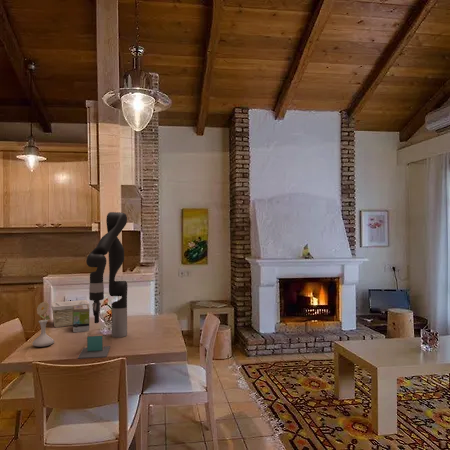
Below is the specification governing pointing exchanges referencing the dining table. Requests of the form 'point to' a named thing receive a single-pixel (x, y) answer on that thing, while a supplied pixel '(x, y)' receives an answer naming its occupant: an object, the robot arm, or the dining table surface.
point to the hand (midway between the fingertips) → (96, 322)
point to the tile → (95, 342)
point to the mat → (94, 353)
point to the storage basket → (65, 312)
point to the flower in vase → (43, 327)
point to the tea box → (81, 318)
